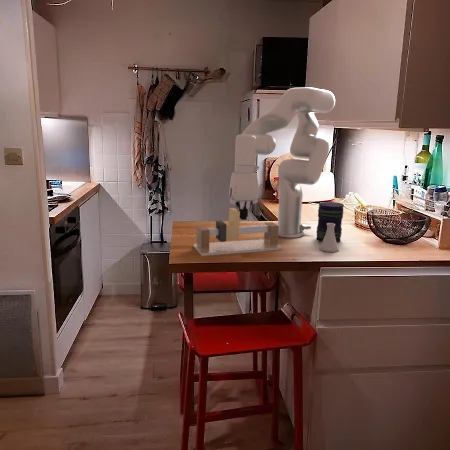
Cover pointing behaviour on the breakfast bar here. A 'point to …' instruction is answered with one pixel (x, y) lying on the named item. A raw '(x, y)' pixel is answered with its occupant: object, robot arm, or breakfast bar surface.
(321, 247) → the flask
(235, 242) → the pipe rig
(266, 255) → the breakfast bar surface
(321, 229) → the storage jar
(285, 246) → the breakfast bar surface
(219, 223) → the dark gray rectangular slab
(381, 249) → the breakfast bar surface
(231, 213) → the wooden block
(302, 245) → the breakfast bar surface
